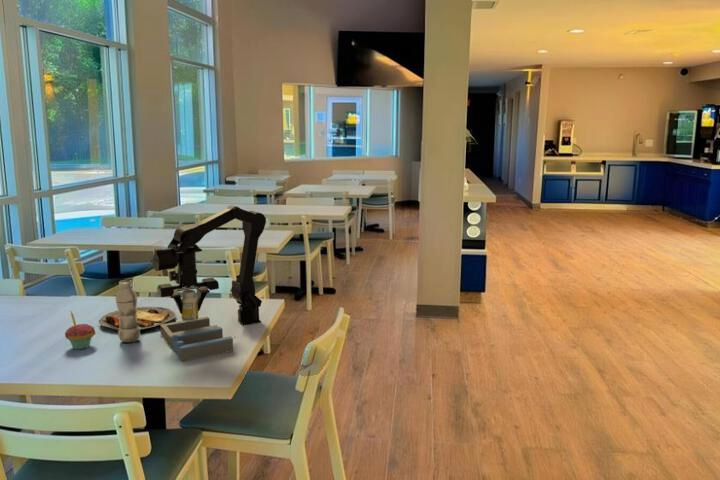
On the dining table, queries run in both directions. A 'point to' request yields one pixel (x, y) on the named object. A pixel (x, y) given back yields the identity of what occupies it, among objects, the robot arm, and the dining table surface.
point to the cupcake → (79, 334)
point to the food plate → (140, 317)
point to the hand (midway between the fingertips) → (189, 312)
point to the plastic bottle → (127, 312)
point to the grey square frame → (195, 338)
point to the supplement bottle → (189, 306)
